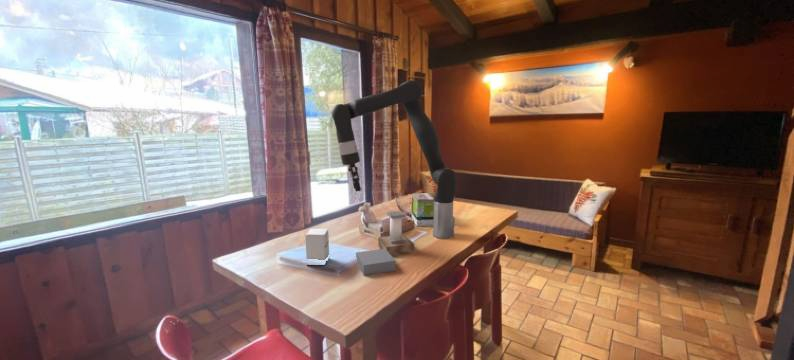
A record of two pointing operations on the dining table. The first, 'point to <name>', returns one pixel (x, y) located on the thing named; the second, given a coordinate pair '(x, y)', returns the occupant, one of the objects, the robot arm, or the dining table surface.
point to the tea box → (422, 209)
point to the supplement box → (317, 244)
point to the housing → (395, 227)
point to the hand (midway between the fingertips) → (357, 189)
